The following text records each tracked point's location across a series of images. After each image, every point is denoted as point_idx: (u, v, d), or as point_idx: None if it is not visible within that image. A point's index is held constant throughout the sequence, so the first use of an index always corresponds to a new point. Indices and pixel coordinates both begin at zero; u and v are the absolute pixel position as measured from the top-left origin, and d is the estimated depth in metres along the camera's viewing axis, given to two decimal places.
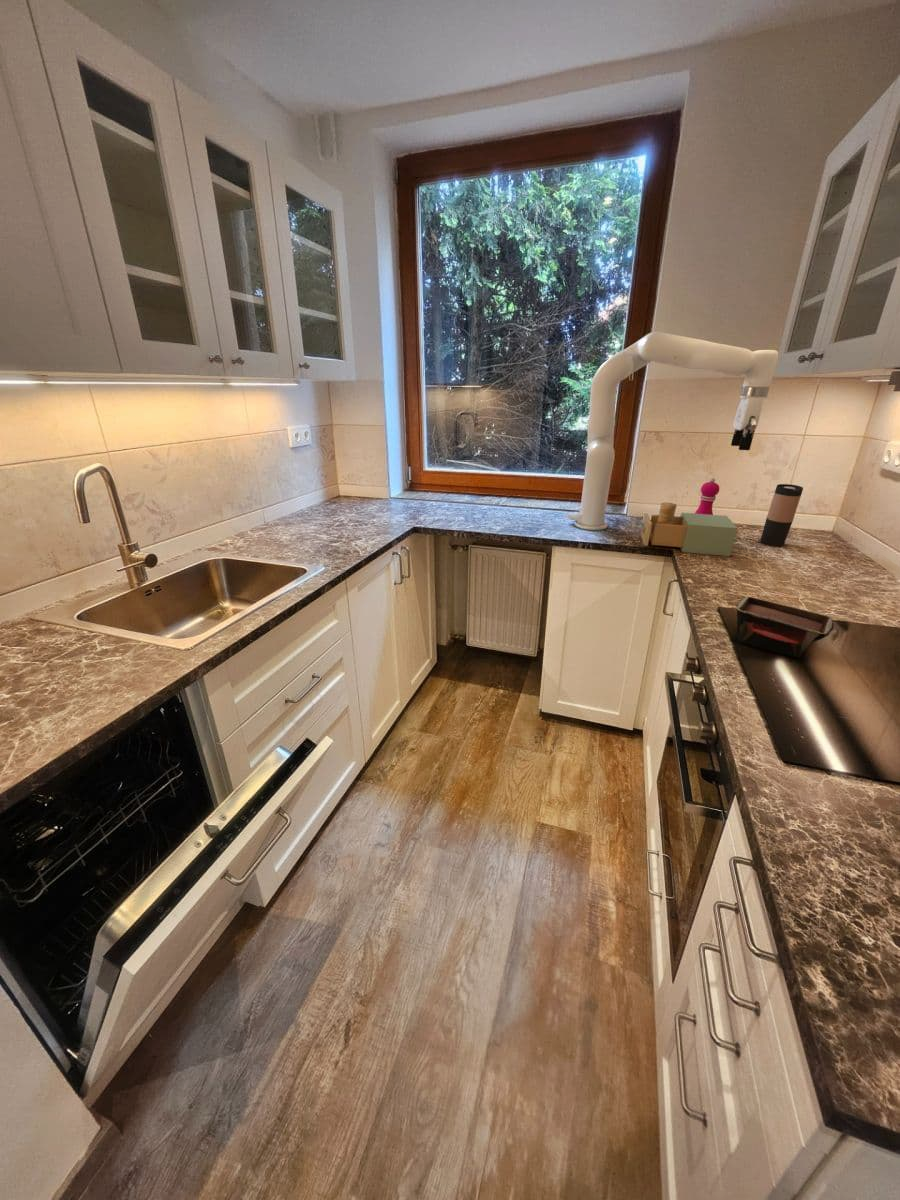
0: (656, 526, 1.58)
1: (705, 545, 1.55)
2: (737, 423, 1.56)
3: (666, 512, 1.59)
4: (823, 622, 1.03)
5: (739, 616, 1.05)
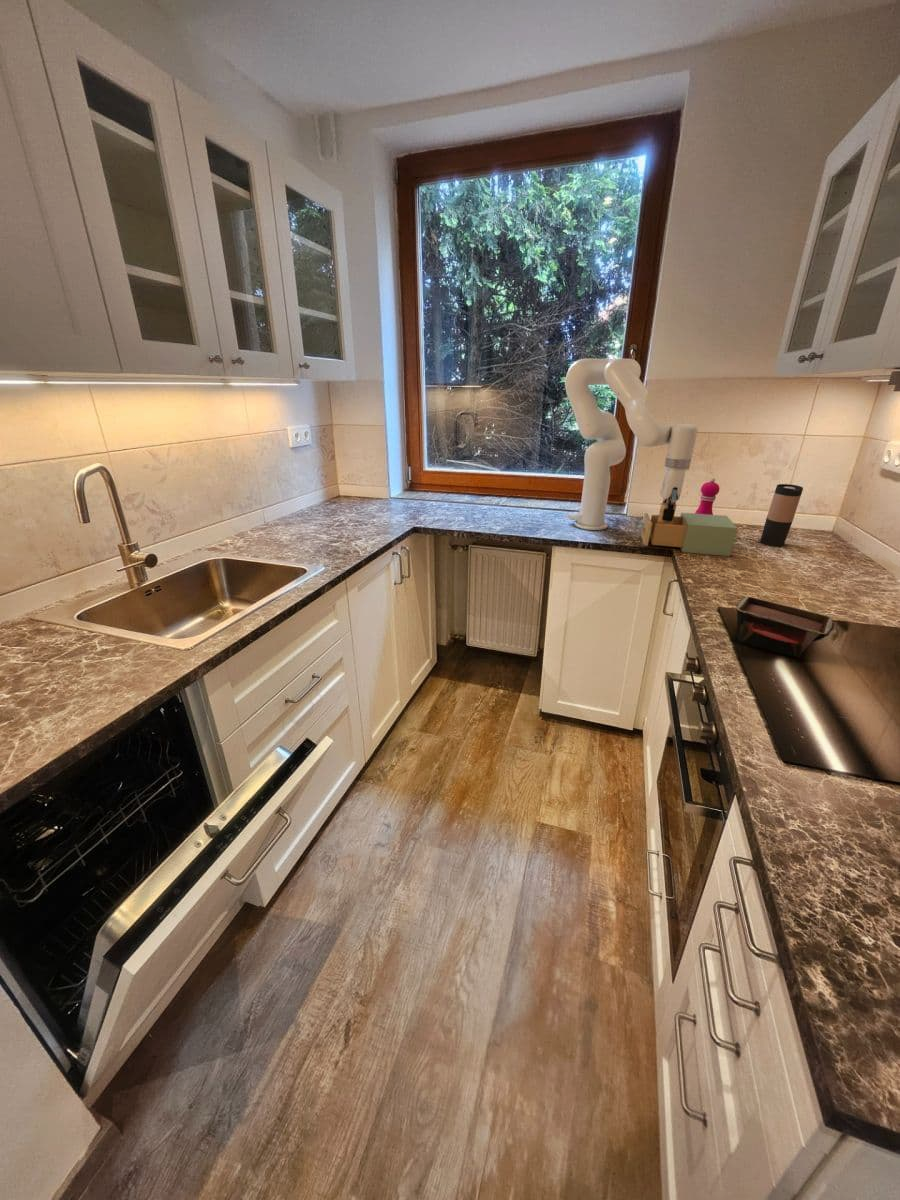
0: (656, 526, 1.58)
1: (705, 545, 1.55)
2: (662, 492, 1.58)
3: None
4: (823, 622, 1.03)
5: (739, 616, 1.05)
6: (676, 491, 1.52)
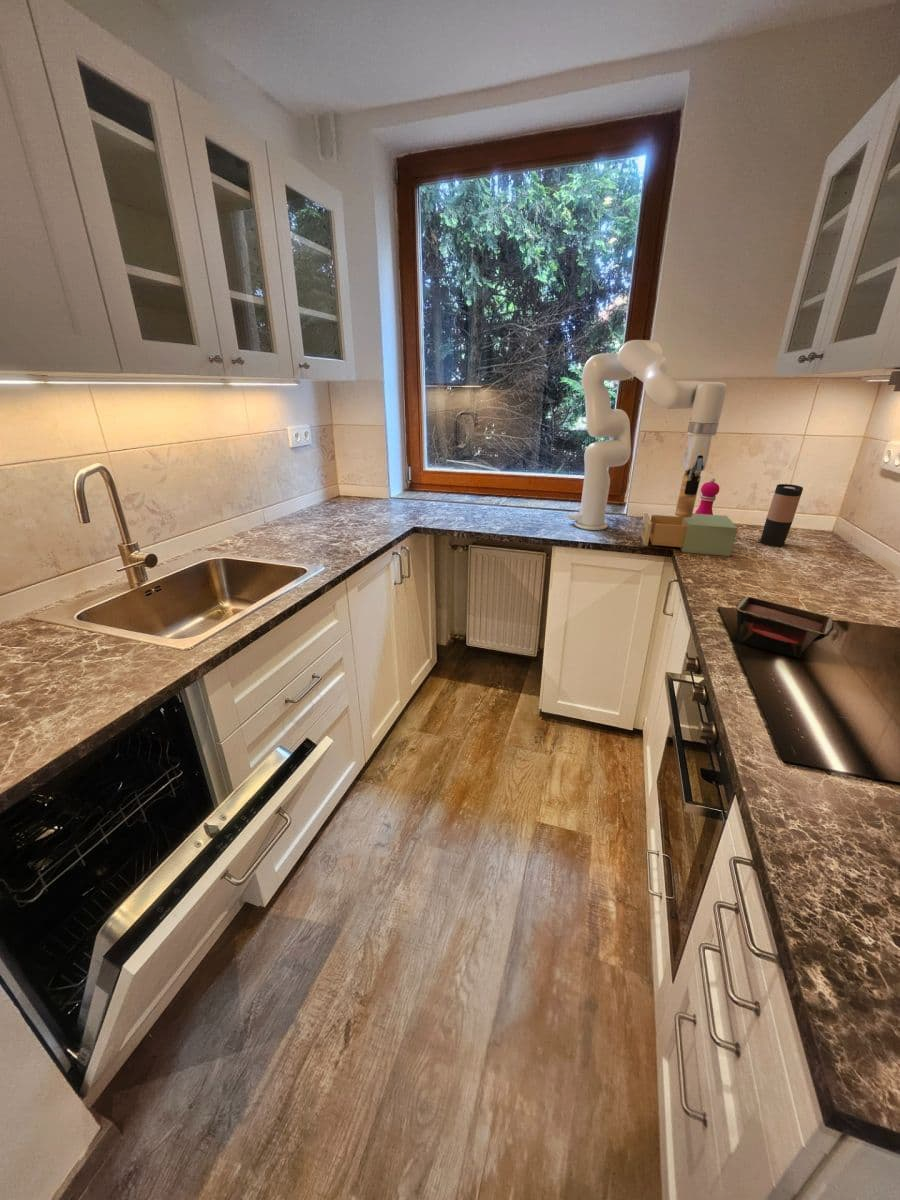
0: (656, 526, 1.58)
1: (705, 545, 1.55)
2: (685, 462, 1.39)
3: None
4: (823, 622, 1.03)
5: (739, 616, 1.05)
6: (701, 460, 1.34)
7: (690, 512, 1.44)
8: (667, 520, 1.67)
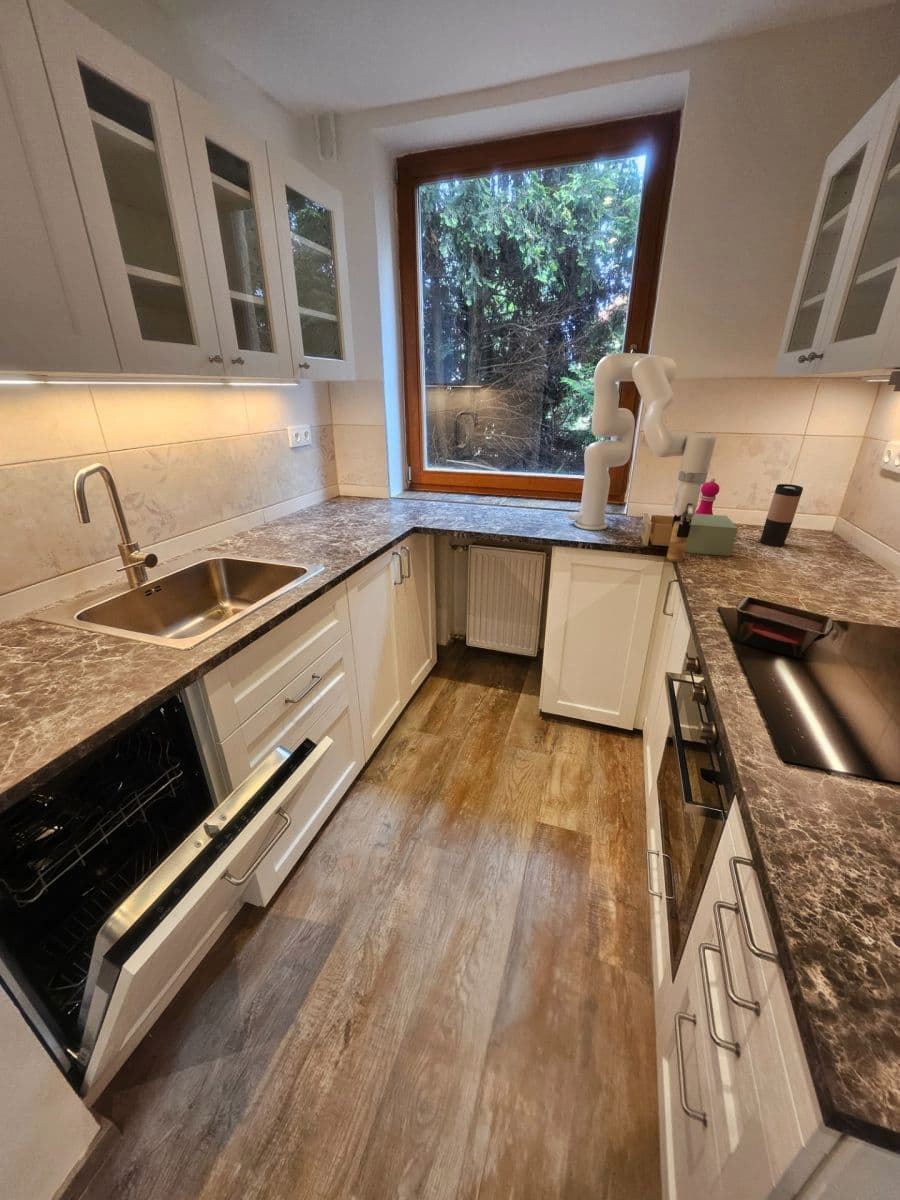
0: (656, 526, 1.58)
1: (705, 545, 1.55)
2: (675, 507, 1.45)
3: None
4: (823, 622, 1.03)
5: (739, 616, 1.05)
6: None
7: (681, 557, 1.49)
8: (667, 520, 1.67)
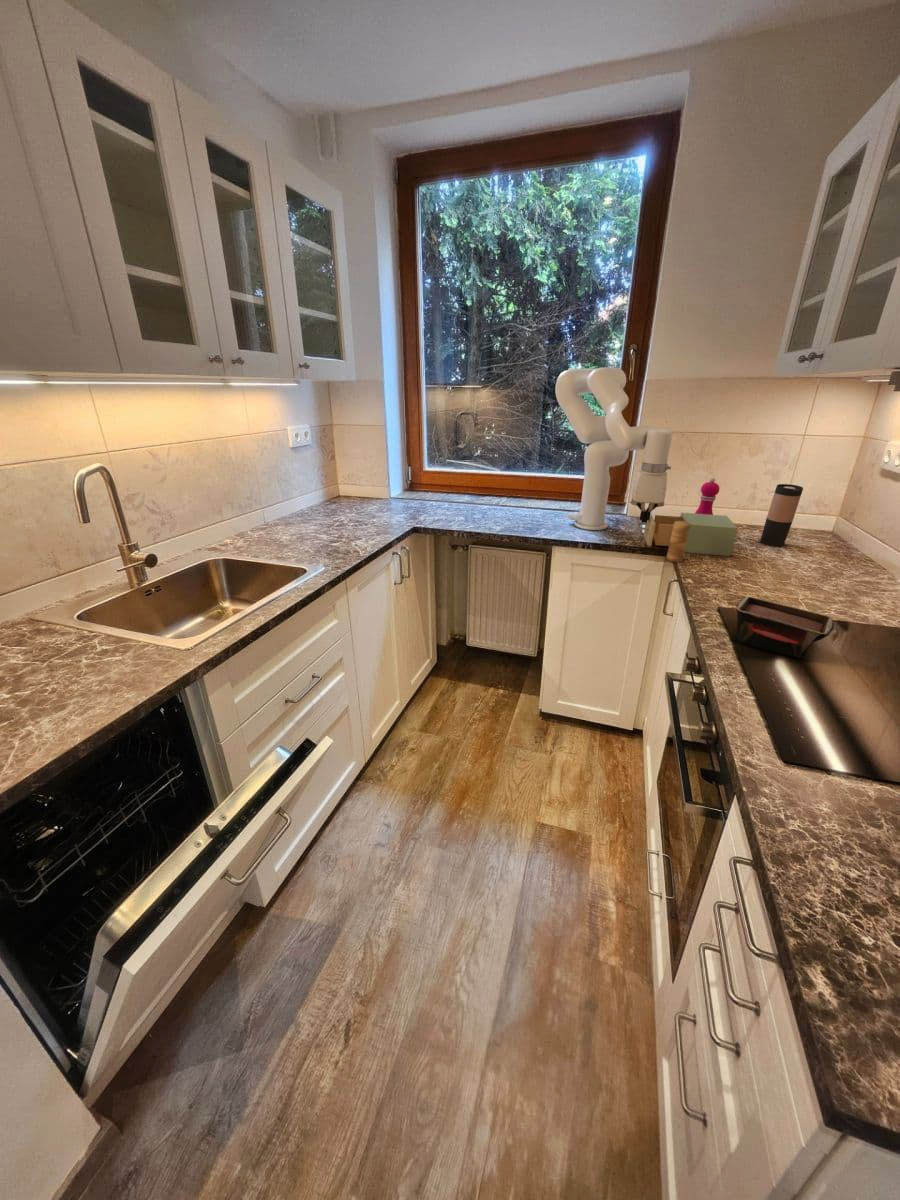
0: (660, 526, 1.58)
1: (705, 545, 1.55)
2: None
3: (679, 532, 1.46)
4: (823, 622, 1.03)
5: (739, 616, 1.05)
6: (633, 491, 1.60)
7: (681, 557, 1.49)
8: (671, 520, 1.66)
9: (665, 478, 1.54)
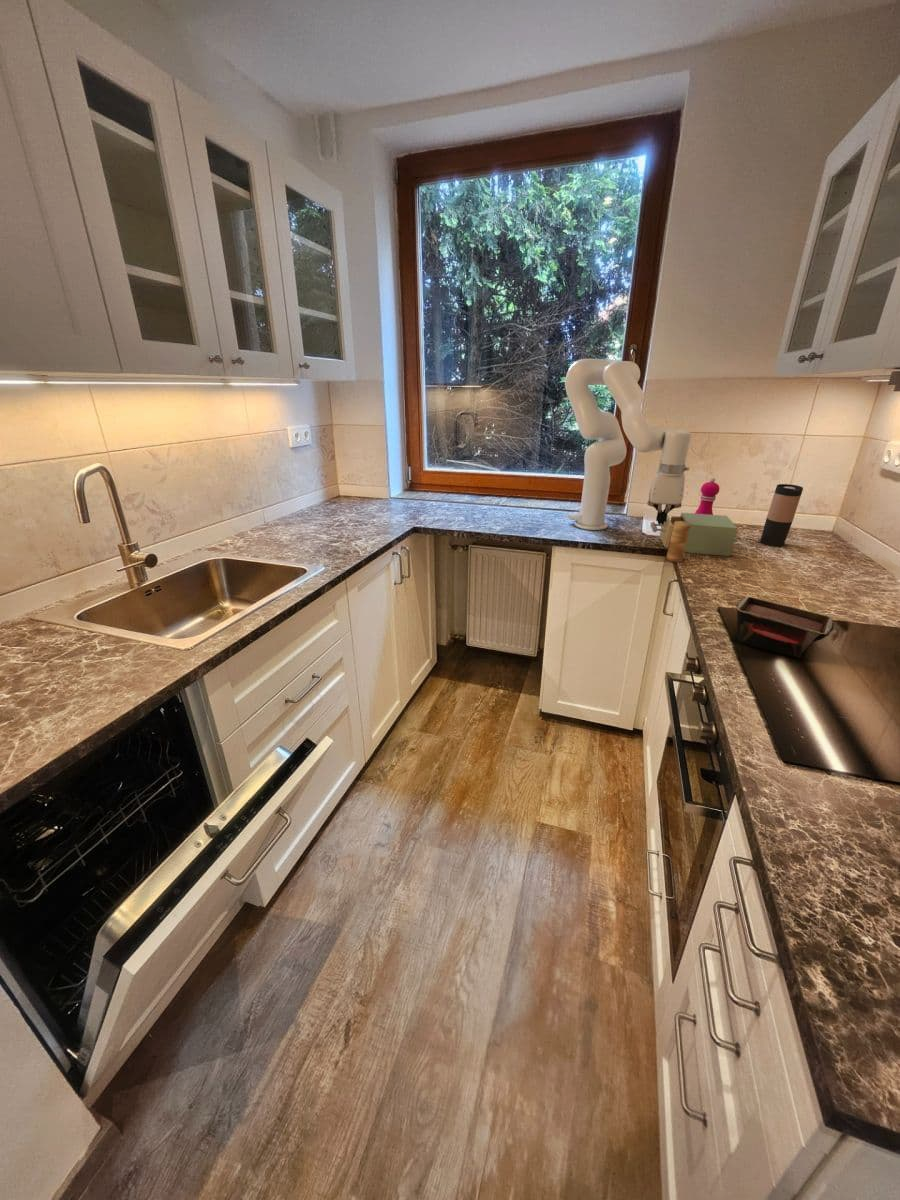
0: None
1: (705, 545, 1.55)
2: None
3: (679, 532, 1.46)
4: (823, 622, 1.03)
5: (739, 616, 1.05)
6: (650, 492, 1.59)
7: (681, 557, 1.49)
8: None
9: (683, 479, 1.53)
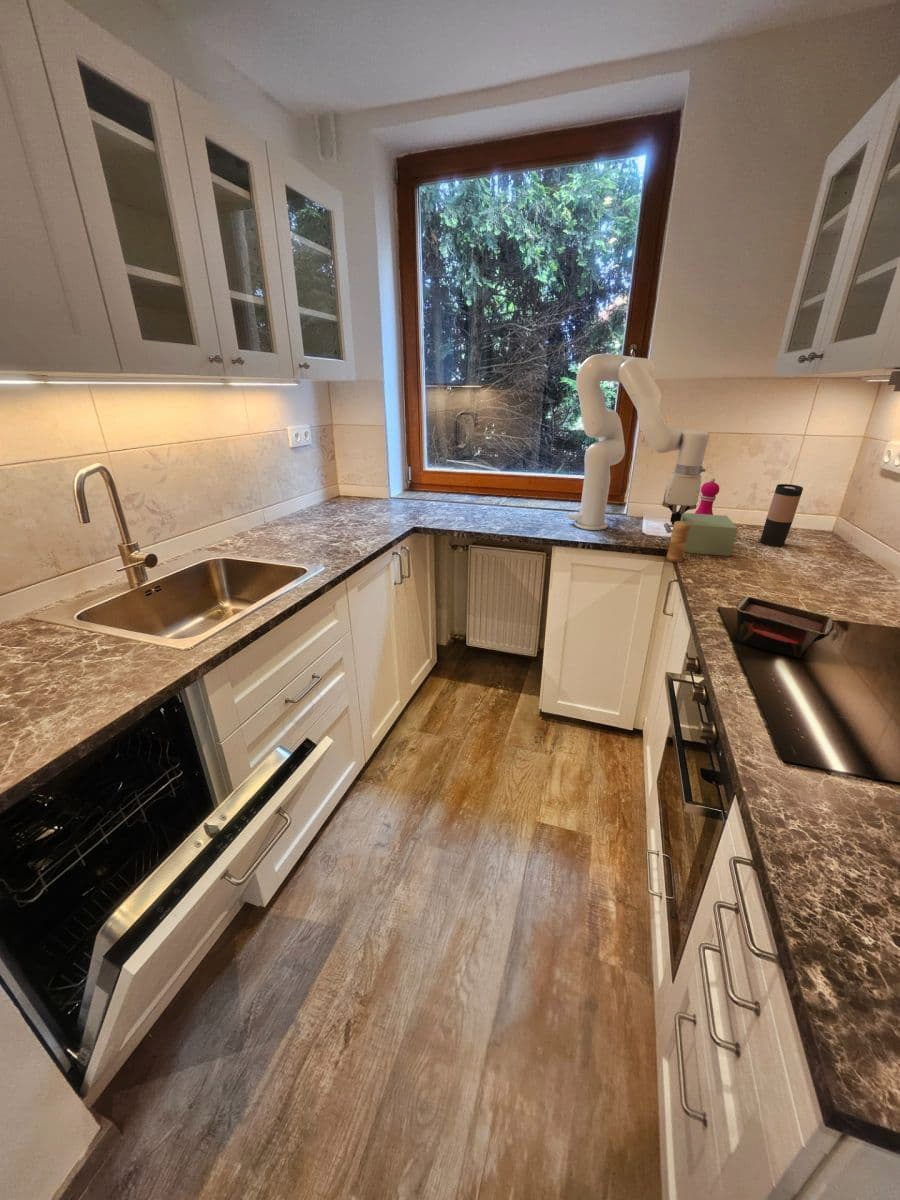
0: None
1: (705, 545, 1.55)
2: None
3: (679, 532, 1.46)
4: (823, 622, 1.03)
5: (739, 616, 1.05)
6: (665, 493, 1.58)
7: (681, 557, 1.49)
8: None
9: (699, 481, 1.52)
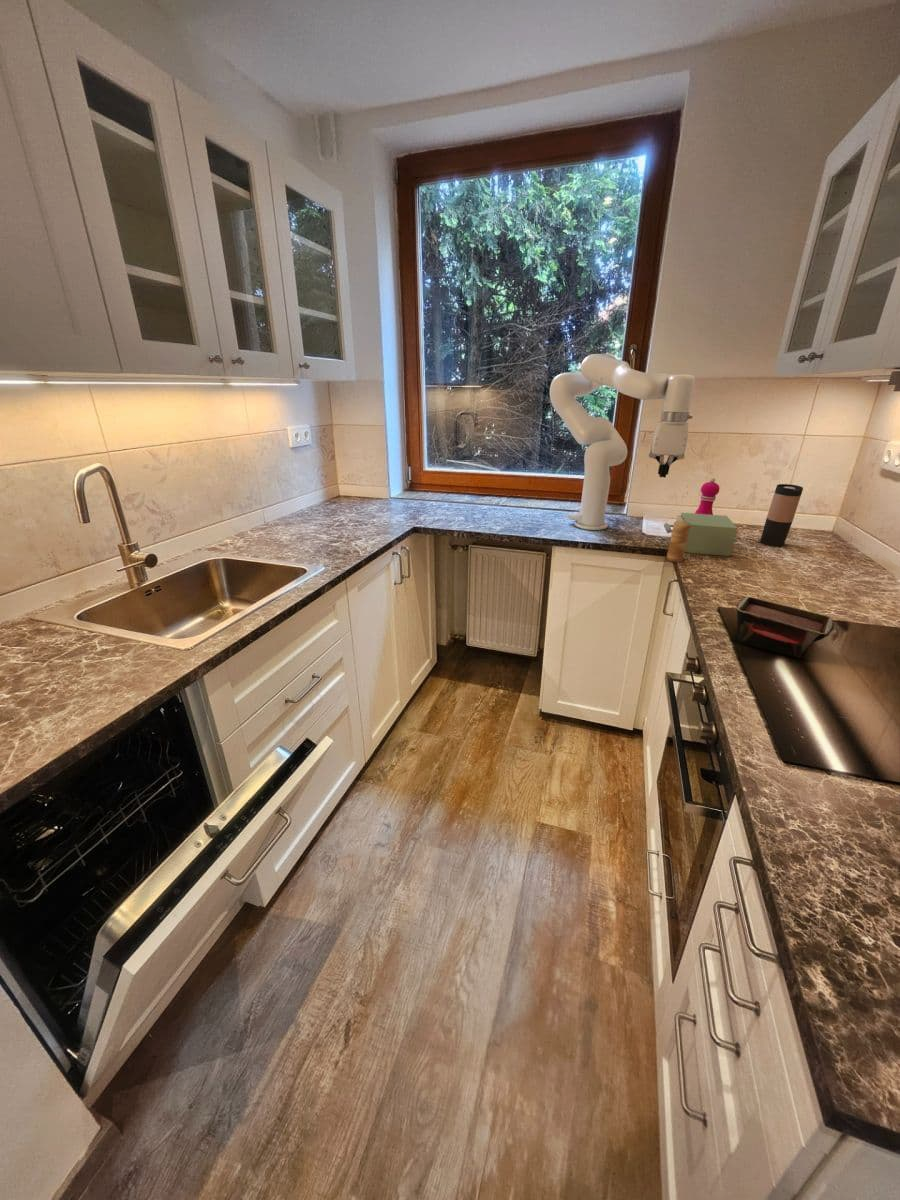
0: None
1: (705, 545, 1.55)
2: None
3: (679, 532, 1.46)
4: (823, 622, 1.03)
5: (739, 616, 1.05)
6: (652, 443, 1.52)
7: (681, 557, 1.49)
8: None
9: (686, 428, 1.47)
